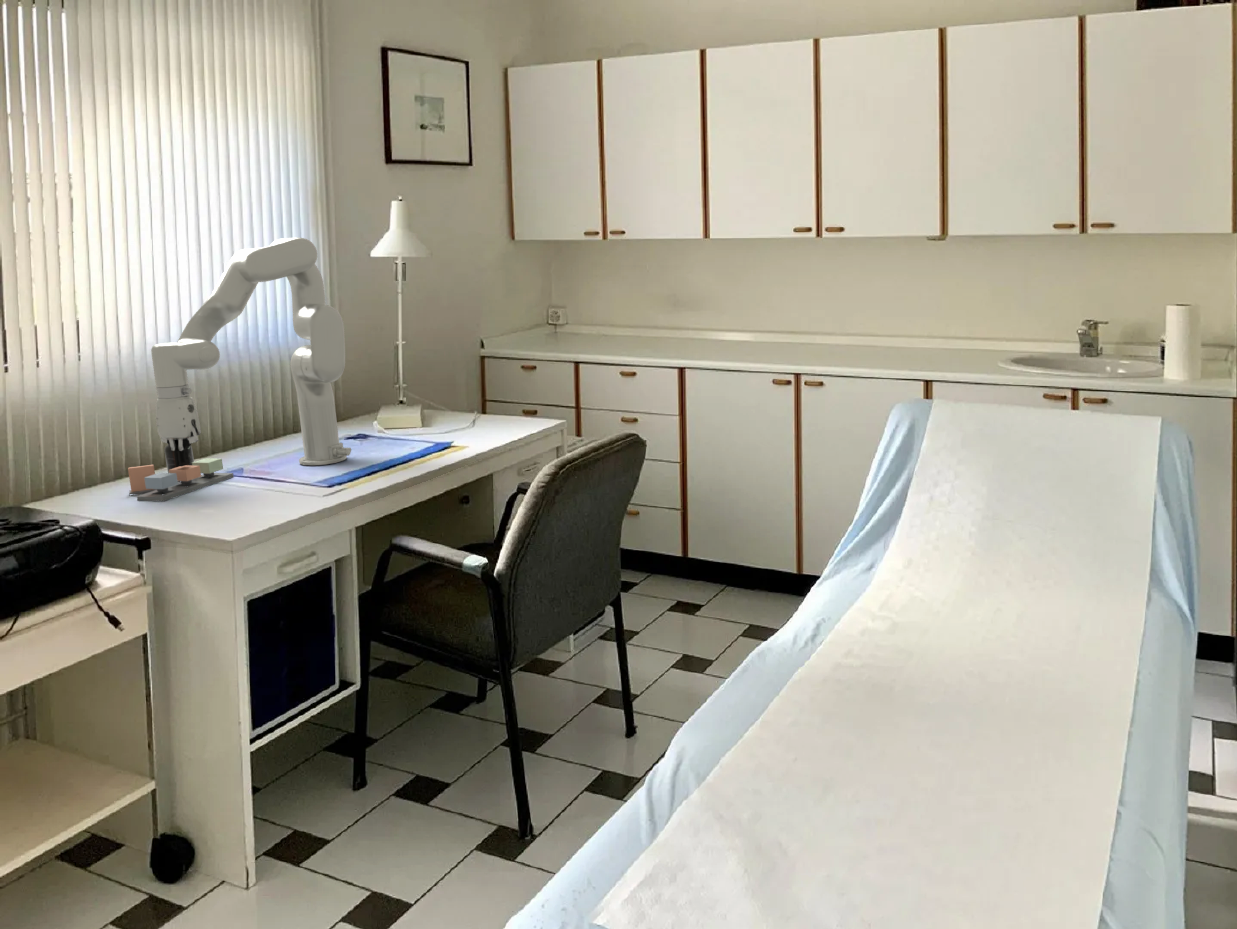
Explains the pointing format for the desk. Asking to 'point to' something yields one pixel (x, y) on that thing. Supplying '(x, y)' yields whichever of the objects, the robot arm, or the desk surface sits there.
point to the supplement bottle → (171, 458)
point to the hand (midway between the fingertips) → (182, 465)
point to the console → (185, 487)
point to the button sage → (209, 465)
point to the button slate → (161, 481)
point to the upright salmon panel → (140, 478)
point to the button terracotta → (186, 473)
